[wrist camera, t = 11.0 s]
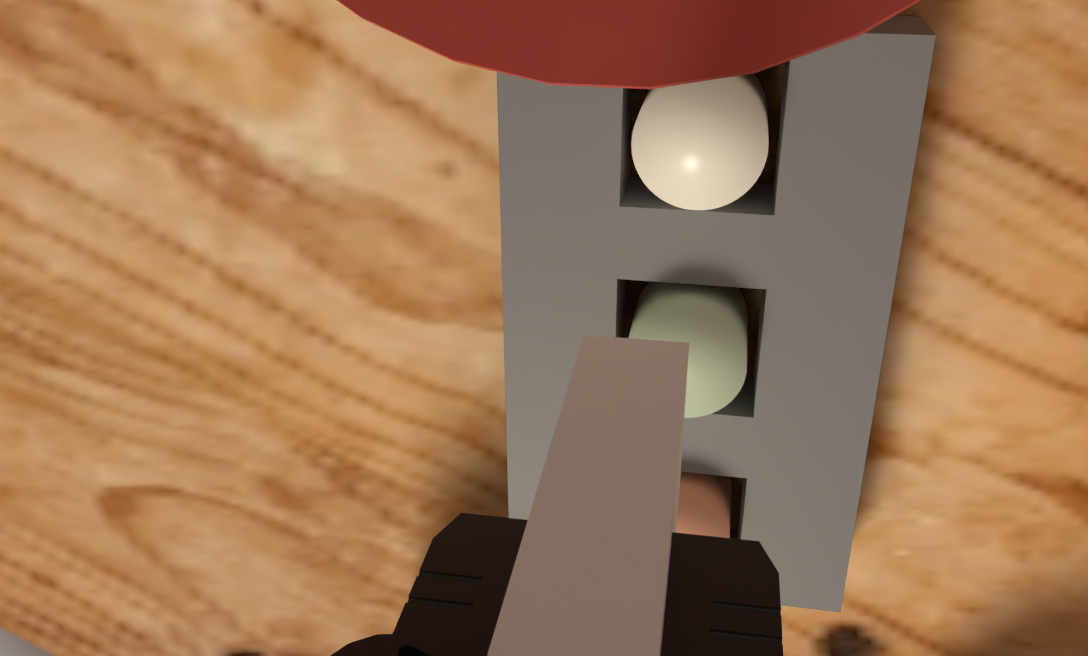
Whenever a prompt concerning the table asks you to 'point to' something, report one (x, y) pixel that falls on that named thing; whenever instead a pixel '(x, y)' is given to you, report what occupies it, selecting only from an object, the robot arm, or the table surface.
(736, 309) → the sage button
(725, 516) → the terracotta button
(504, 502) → the table surface
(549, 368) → the button panel
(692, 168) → the cream button
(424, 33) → the citrus juicer
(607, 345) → the robot arm
